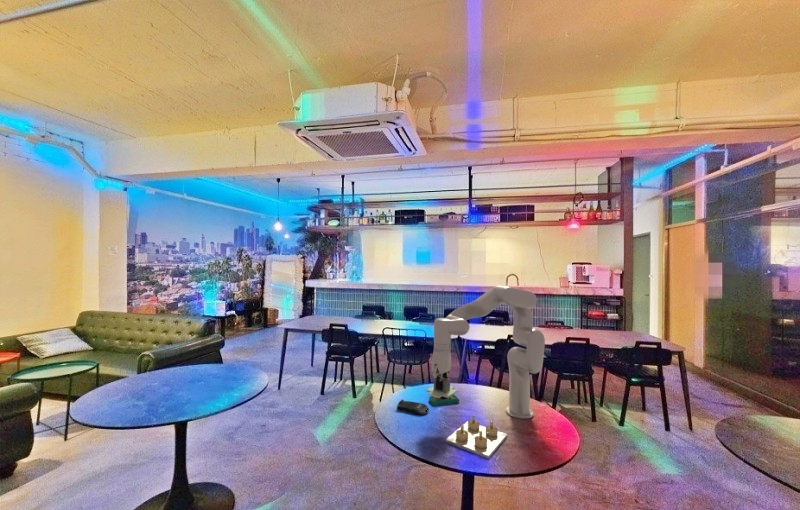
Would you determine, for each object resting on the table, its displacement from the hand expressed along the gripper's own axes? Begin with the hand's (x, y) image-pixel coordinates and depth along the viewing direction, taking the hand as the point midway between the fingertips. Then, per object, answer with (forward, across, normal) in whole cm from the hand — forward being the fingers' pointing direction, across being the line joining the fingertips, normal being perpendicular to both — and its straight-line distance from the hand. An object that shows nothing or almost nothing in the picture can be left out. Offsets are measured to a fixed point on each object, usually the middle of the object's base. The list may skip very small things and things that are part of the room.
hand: (441, 387), depth 146 cm
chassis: (+17, 0, +17) cm, 24 cm away
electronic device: (+18, -6, -19) cm, 27 cm away
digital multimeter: (+18, -24, -12) cm, 33 cm away
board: (+2, 0, 0) cm, 2 cm away
